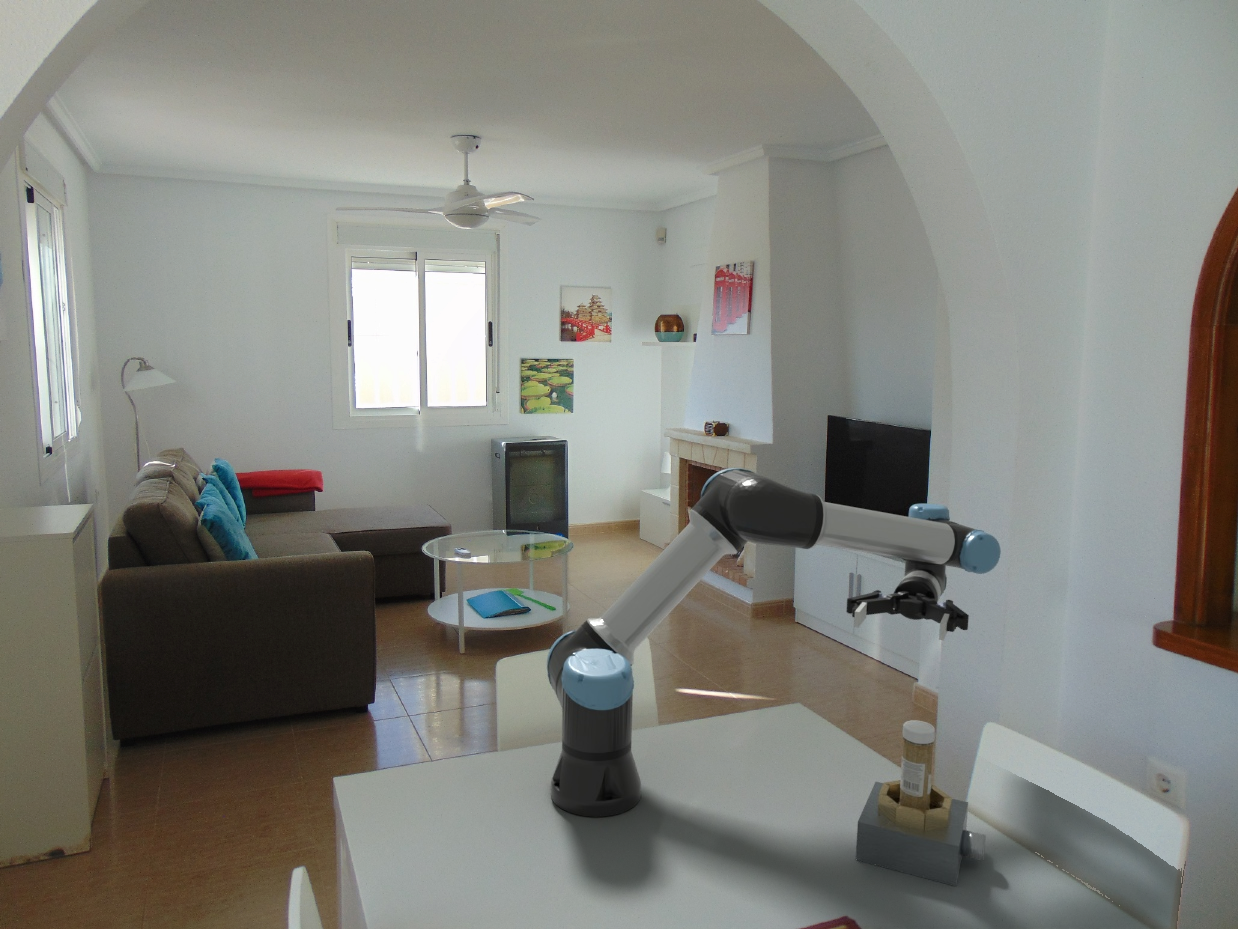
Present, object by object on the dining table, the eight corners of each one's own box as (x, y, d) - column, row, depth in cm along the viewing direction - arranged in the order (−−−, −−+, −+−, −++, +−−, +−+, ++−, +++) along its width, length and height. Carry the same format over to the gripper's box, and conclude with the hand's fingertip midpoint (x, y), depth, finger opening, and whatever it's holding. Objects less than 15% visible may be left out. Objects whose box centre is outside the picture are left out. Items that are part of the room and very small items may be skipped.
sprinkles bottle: (936, 812, 133) (941, 727, 131) (916, 821, 131) (921, 734, 129) (911, 799, 137) (916, 716, 135) (891, 807, 134) (896, 723, 133)
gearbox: (855, 859, 131) (858, 805, 130) (873, 816, 144) (876, 766, 143) (978, 892, 124) (983, 835, 123) (986, 843, 136) (990, 791, 135)
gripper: (987, 625, 160) (977, 660, 141) (848, 605, 171) (822, 635, 152) (990, 584, 159) (981, 614, 140) (850, 567, 170) (824, 593, 151)
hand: (898, 625), depth 146 cm, fingers open, 13 cm apart
